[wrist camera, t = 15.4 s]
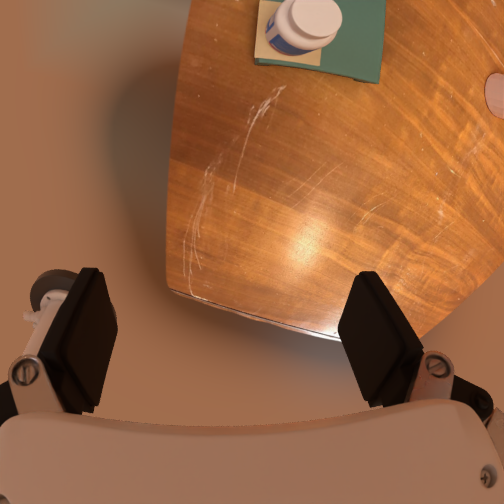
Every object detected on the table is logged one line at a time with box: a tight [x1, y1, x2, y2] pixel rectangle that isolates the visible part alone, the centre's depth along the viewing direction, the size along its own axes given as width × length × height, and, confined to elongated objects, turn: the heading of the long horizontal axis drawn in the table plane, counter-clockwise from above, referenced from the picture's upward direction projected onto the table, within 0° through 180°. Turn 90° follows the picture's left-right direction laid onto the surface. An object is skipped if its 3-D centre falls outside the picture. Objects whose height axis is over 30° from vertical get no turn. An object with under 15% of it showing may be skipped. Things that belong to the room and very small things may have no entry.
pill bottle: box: [265, 0, 342, 56], centre depth 20 cm, size 6×5×10 cm
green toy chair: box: [254, 0, 386, 84], centre depth 20 cm, size 14×16×14 cm
